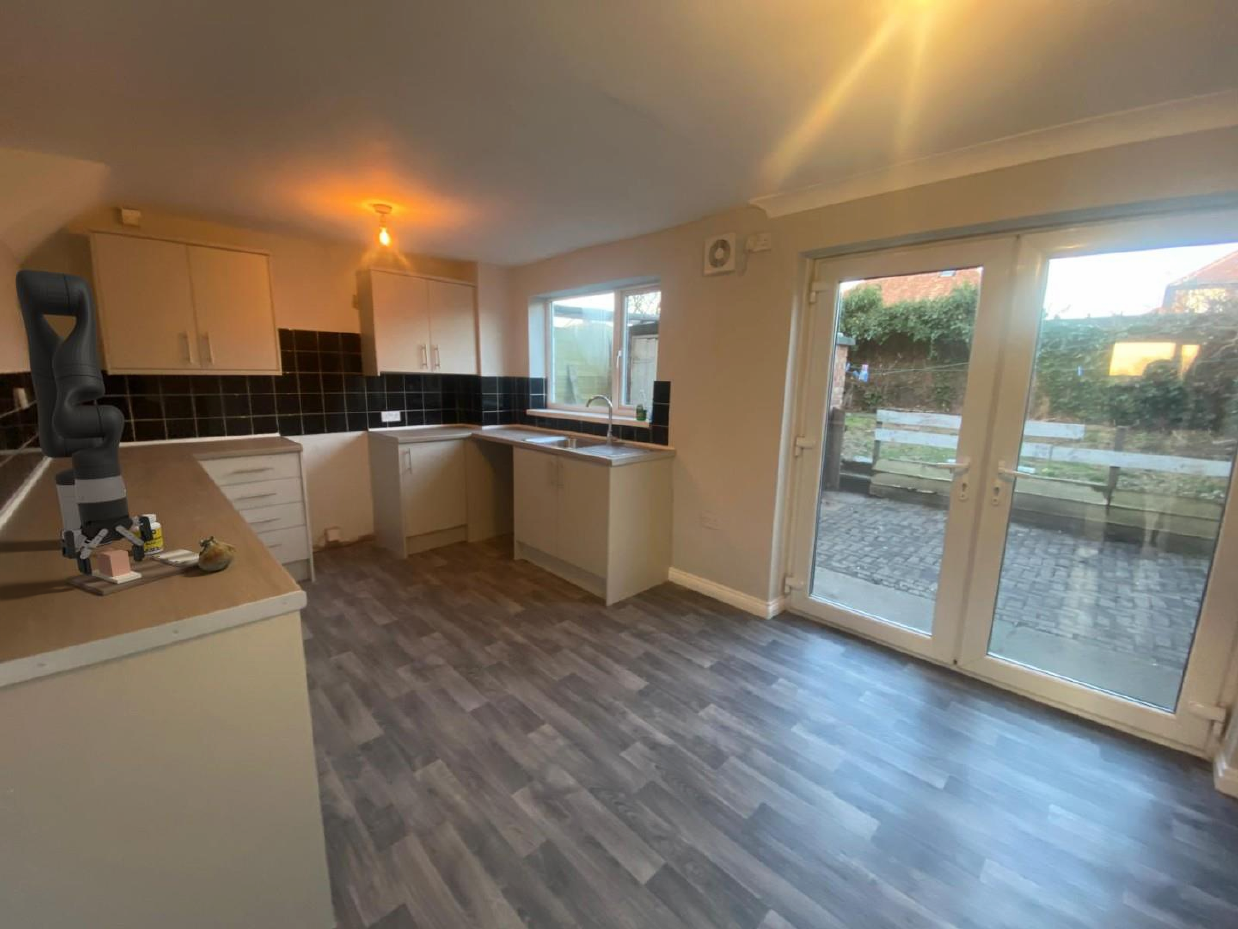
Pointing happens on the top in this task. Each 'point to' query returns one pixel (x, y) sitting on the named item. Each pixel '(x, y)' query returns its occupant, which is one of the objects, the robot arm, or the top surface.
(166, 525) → the top surface
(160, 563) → the board
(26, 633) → the top surface
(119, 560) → the pink and white block
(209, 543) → the onion
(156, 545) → the supplement bottle
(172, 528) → the top surface
